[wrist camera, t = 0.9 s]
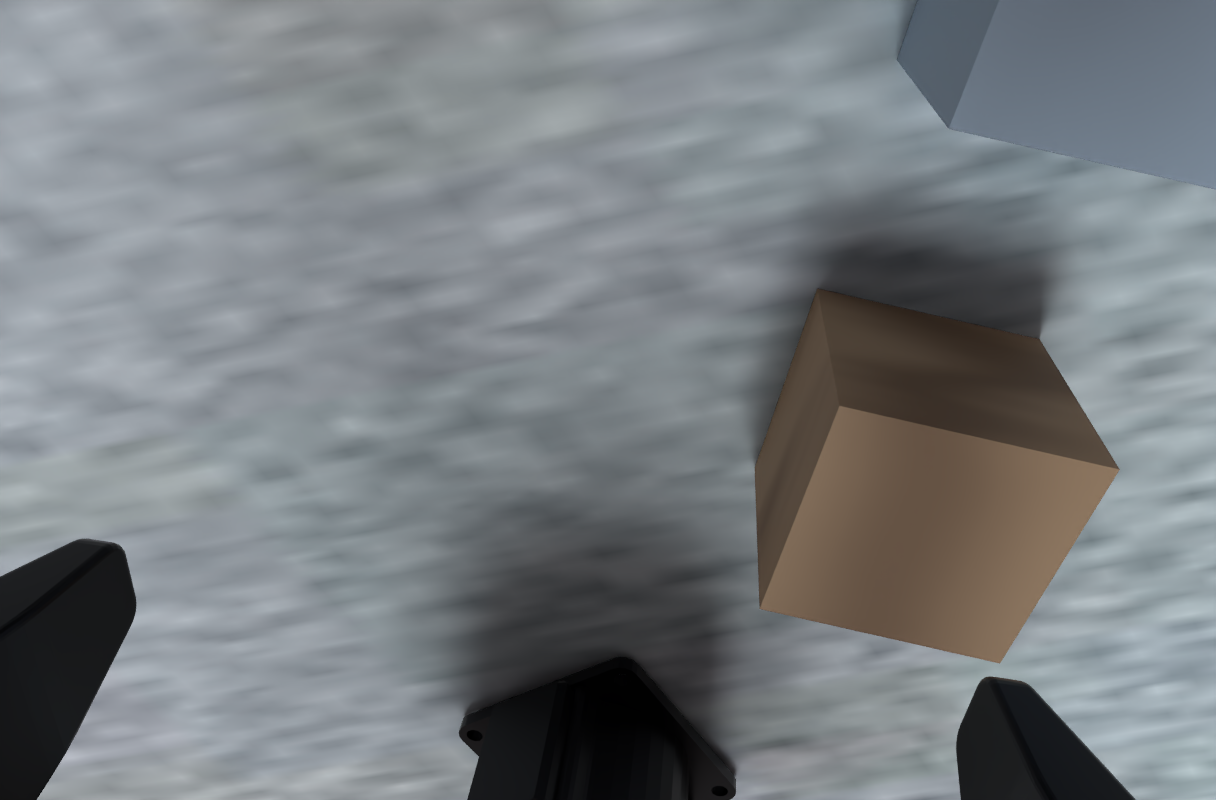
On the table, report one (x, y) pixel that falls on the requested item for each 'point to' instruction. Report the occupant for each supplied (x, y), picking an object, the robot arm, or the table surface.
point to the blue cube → (1076, 78)
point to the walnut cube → (921, 478)
